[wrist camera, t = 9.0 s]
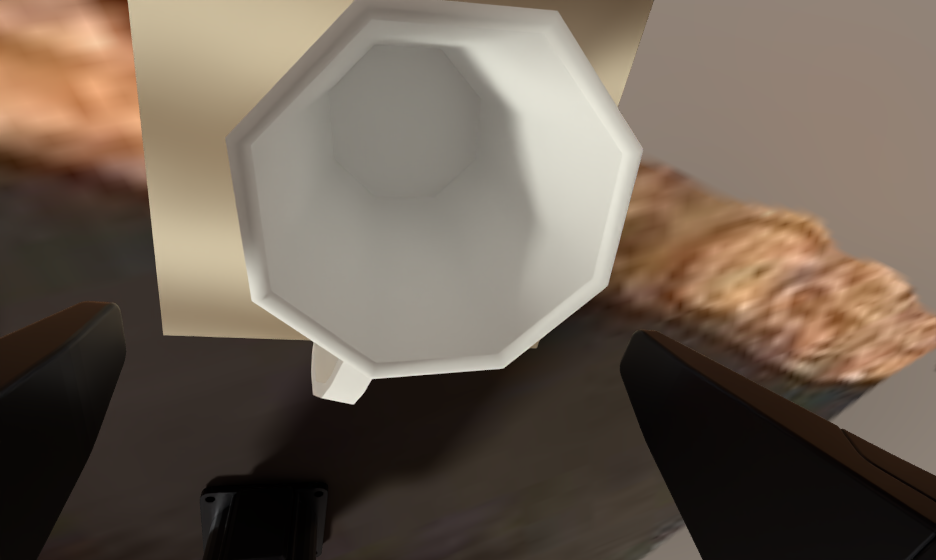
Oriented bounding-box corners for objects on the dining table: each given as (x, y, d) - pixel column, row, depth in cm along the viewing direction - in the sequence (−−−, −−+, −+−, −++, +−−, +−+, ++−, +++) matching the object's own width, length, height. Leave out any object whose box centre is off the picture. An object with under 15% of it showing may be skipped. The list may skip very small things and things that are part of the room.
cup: (553, 58, 15) (726, 119, 8) (418, 315, 19) (461, 502, 12) (328, -77, 12) (307, -153, 5) (222, 257, 16) (132, 458, 9)
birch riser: (510, 298, 24) (536, 348, 21) (193, 276, 20) (163, 335, 17) (604, -31, 18) (665, -35, 14) (164, -157, 14) (106, -203, 10)
